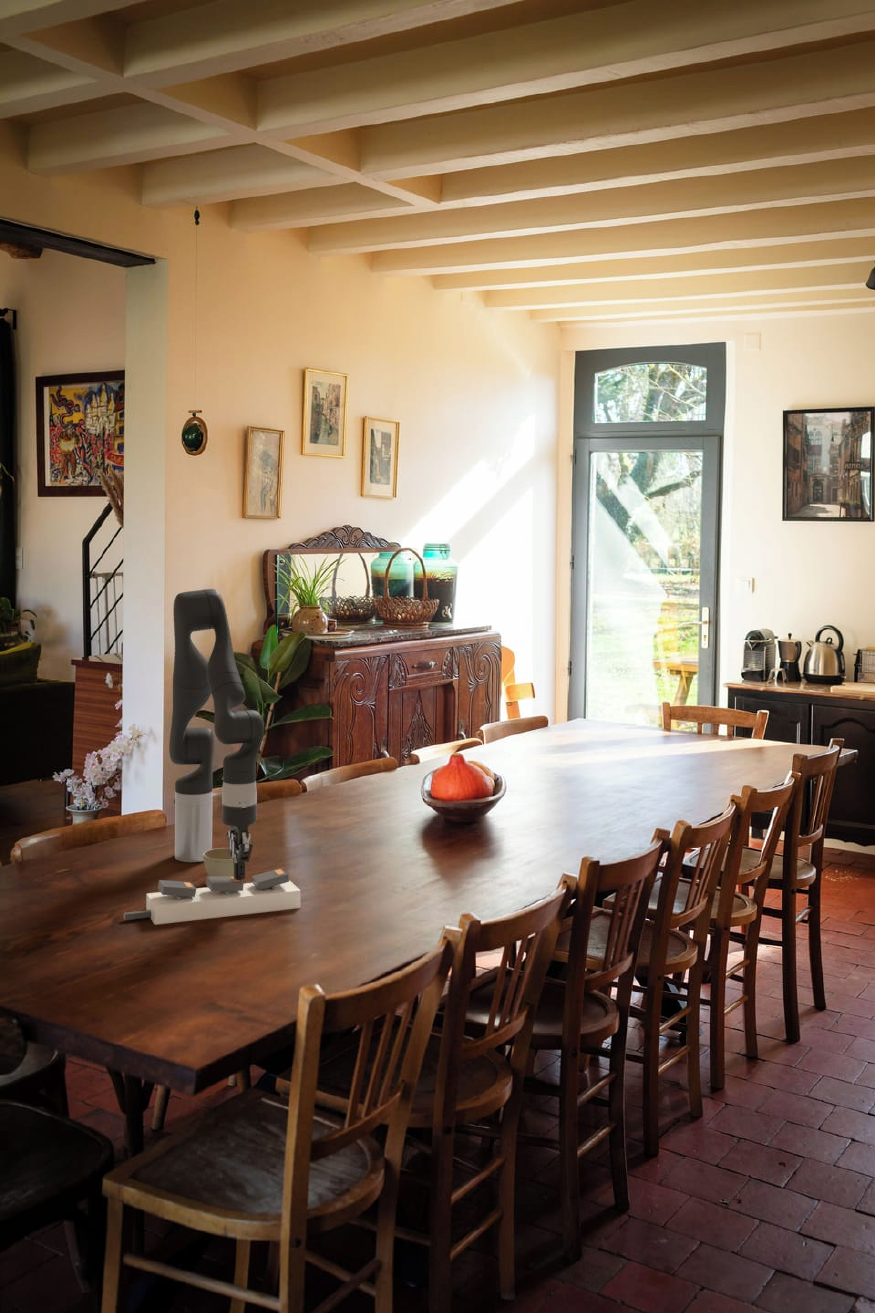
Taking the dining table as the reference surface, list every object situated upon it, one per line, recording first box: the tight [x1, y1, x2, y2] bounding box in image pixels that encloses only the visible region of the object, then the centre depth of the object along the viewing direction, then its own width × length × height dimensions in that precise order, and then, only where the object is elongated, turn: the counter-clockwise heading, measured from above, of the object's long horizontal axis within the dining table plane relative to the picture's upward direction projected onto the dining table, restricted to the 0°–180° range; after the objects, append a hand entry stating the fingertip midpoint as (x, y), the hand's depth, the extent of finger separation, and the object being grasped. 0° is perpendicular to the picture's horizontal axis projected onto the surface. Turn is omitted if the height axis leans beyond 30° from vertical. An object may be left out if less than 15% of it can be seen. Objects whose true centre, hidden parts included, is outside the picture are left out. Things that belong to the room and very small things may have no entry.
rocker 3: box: [251, 867, 290, 890], centre depth 260 cm, size 5×7×2 cm
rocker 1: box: [157, 879, 197, 897], centre depth 252 cm, size 5×7×2 cm
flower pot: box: [203, 847, 234, 876], centre depth 275 cm, size 10×10×7 cm
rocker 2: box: [205, 875, 245, 891], centre depth 256 cm, size 5×7×2 cm
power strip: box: [123, 879, 302, 926], centre depth 255 cm, size 9×38×5 cm, turn 115°
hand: (239, 878), depth 257 cm, fingers closed
